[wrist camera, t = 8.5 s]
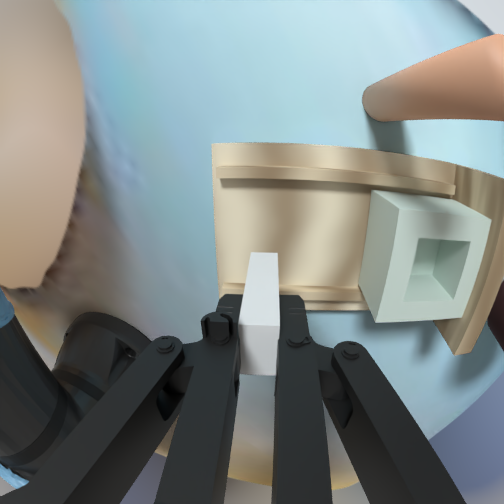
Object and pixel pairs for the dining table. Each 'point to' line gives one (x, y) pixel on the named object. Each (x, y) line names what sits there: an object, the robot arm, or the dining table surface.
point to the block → (420, 256)
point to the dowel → (444, 86)
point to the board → (338, 220)
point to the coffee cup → (498, 316)
